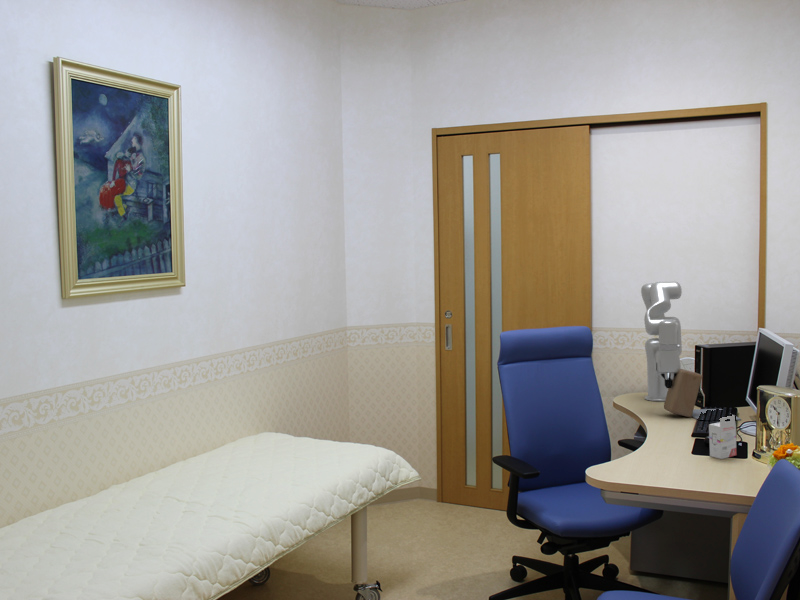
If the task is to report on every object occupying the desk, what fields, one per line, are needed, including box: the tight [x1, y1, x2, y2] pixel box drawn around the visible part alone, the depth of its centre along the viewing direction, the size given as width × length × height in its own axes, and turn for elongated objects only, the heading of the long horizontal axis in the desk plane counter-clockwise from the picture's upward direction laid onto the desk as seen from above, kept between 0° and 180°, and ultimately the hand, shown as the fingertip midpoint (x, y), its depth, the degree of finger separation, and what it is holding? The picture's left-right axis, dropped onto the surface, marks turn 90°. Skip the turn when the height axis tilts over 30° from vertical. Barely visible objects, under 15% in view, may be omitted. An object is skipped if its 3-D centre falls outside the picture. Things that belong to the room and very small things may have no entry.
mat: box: [690, 408, 742, 421], centre depth 304 cm, size 22×18×1 cm
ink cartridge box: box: [708, 414, 737, 460], centre depth 239 cm, size 9×5×15 cm, turn 117°
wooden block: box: [663, 368, 703, 418], centre depth 304 cm, size 10×10×20 cm
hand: (668, 387), depth 305 cm, fingers closed
